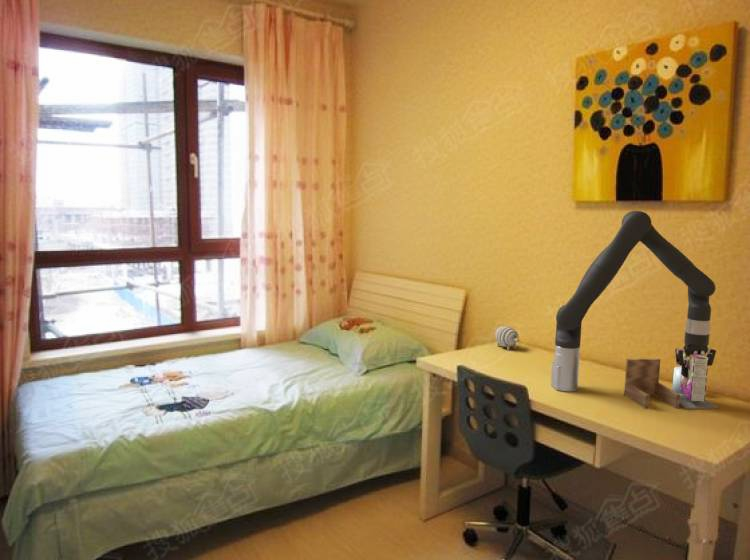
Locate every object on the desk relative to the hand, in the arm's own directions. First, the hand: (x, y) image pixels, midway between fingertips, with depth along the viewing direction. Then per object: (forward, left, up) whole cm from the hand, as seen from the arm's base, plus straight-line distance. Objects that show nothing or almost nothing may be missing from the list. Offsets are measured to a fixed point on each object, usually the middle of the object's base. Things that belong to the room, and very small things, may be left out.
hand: (693, 376), depth 187 cm
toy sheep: (-46, +75, -10) cm, 89 cm away
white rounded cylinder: (+4, +11, -10) cm, 15 cm away
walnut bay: (-14, +2, -10) cm, 17 cm away
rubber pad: (0, 0, -10) cm, 10 cm away
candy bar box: (0, 0, -8) cm, 8 cm away
